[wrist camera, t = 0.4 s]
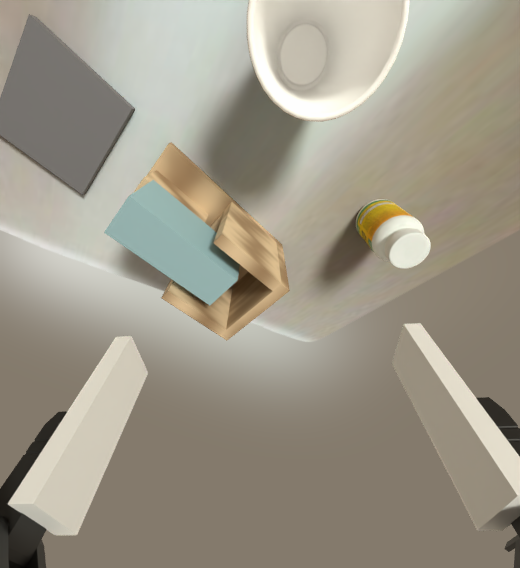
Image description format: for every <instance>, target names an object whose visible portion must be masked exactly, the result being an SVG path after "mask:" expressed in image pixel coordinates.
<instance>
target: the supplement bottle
mask: <svg viewBox="0 0 520 568" xmlns="http://www.w3.org/2000/svg"><path fill="white" fill-rule="evenodd" d="M356 229H357V231H358V233H359V234H360V235H361V237H362V238H363V239H364V240H365V242H366V243H367V244H368V245H369V247H370V248H371V249H372V251H373V252H374V253H375V254H376V256H377V257H379V258H380V259H382V260H384V261H388V262H390V263H391V264H392V265H394V266H395V267H398V268H410V267H413V266H416V265H417V264H419V263H420V262H422V261H423V260H424V259H425V258H426V256H427V255H428V253H429V251H430V241H429V239H428V237H427V236H426V235H425V234H424V229H423V226H422V224H421V223H420V222H419V221H418V220H417V219H416V218H414V217H413V216H411V215H410V214H408V213H407V212H406V211H404V210H403V209H401V208H400V207H399V206H397V205H396V204H394V203H393V202H391V201H389V200H386V199H378V200H374V201H371V202H369V203H367V204H366V205H365V206H364V207H363V208H362V209H361V210H360V211H359V213H358V215H357V218H356Z"/></svg>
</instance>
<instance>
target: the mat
mask: <svg viewBox="0 0 520 568" xmlns="http://www.w3.org/2000/svg"><path fill="white" fill-rule="evenodd" d="M134 110H135V108H134V107H133V106H131V105H130V104H129V103H128V102H127V101H126V100H125V99H124V98H123V97H122V96H121V95H120V94H119V93H117V92H116V91H115V90H114V89H113V88H112V87H111V86H110V85H109V84H108V83H107V82H106V81H104V80H103V79H102V78H101V77H100V76H99V75H98V74H97V73H96V72H95V71H94V70H93V69H92V68H90V67H89V66H88V65H87V64H86V63H85V62H84V61H83V60H82V59H81V58H80V57H79V56H77V55H76V54H75V53H74V52H73V51H72V50H71V49H70V48H69V47H68V46H67V45H66V44H64V43H63V42H62V41H61V40H60V39H59V38H58V37H57V36H56V35H55V34H54V33H53V32H52V31H50V30H49V29H48V28H47V27H46V26H45V25H44V24H43V23H42V22H41V21H40V20H39V19H37V18H36V17H35V16H32V15H30V14H29V17H28V19H27V22H26V25H25V28H24V31H23V34H22V37H21V40H20V43H19V46H18V48H17V51H16V54H15V57H14V60H13V63H12V66H11V69H10V72H9V74H8V77H7V80H6V83H5V86H4V89H3V92H2V95H1V98H0V135H1V136H2V137H3V138H5V139H6V140H7V141H9V142H10V143H12V144H13V145H14V146H16V147H17V148H18V149H20V150H21V151H23V152H24V153H25V154H27V155H28V156H30V157H31V158H32V159H34V160H35V161H36V162H38V163H39V164H41V165H42V166H43V167H45V168H46V169H47V170H49V171H50V172H52V173H53V174H54V175H56V176H57V177H58V178H60V179H61V180H63V181H64V182H65V183H67V184H68V185H70V186H71V187H72V188H74V189H75V190H76V191H78V192H79V193H81V194H82V195H83V194H85V193H86V192H87V190H88V188H89V187H90V185H91V183H92V182H93V180H94V178H95V176H96V175H97V173H98V171H99V170H100V168H101V166H102V164H103V163H104V161H105V159H106V158H107V156H108V154H109V153H110V151H111V149H112V147H113V146H114V144H115V142H116V141H117V139H118V137H119V136H120V134H121V132H122V130H123V129H124V127H125V125H126V124H127V122H128V120H129V119H130V117H131V115H132V113H133V112H134Z"/></svg>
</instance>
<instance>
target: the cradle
mask: <svg viewBox="0 0 520 568" xmlns="http://www.w3.org/2000/svg"><path fill="white" fill-rule="evenodd" d="M152 180H154V181H156V182H157V183H158V184H159V185H160V186H162V187H163V188H164V189H165V190H166V191H168V192H169V193H170V194H171V195H172V196H174V197H175V198H176V199H177V200H178V201H180V202H181V203H182V204H183V205H184V206H186V207H187V208H188V209H189V210H190V211H192V212H193V213H194V214H195V215H196V216H198V217H199V218H200V219H201V220H202V221H203V222H205V223H206V224H207V225H208V226H209V227H211V228H212V229H213V230H214V231H215V232H217V234H216V237H215V240H214V244H215V245H216V246H218V247H219V248H220V249H221V250H222V251H224V252H225V253H226V254H227V255H229V256H230V257H231V258H232V259H234V260H235V261H236V262H237V263H239V264H240V267H239V274H238V280H237V281H236V282H235V283H234V284H233V285H232V286H231V287H230V288H229V289H228V290H227V291H225V292H224V293H223V294H222V295H221V296H220V297H219V298H218V299H217V300H216V301H214V302H213V303H212V304H211V305H208V304H207V303H205V302H204V301H203V300H201V299H200V298H198V297H197V296H195V295H194V294H192V293H191V292H190V291H188V290H187V289H185V288H184V287H182V286H181V285H179V284H178V283H176V282H175V281H174V280H172V279H171V281H170V282H169V284H168V286H167V288H166V290H165V292H164V294H163V296H162V299H164V300H165V301H167V302H168V303H170V304H171V305H173V306H175V307H176V308H178V309H179V310H181V311H182V312H184V313H185V314H187V315H188V316H190V317H191V318H193V319H195V320H196V321H198V322H199V323H201V324H203V325H204V326H205V327H207V328H208V329H210V330H211V331H213V332H215V333H216V334H218V335H219V336H221V337H223V338H224V339H225V340H228V339H229V338H231V337H232V336H233V335H235V334H236V333H237V332H238V331H240V330H241V329H242V328H243V327H245V326H246V325H247V324H248V323H250V322H251V321H252V320H254V319H255V318H256V317H257V316H259V315H260V314H261V313H262V312H264V311H265V310H266V309H267V308H269V307H270V306H271V305H272V304H274V303H275V302H276V301H277V300H279V299H280V298H281V297H282V296H284V295H285V294H286V293H287V292H289V291H290V290H289V284H288V278H287V272H286V266H285V259H284V253H283V247H282V244H281V243H280V242H278V241H277V240H276V239H275V238H274V237H273V236H272V235H271V234H270V233H269V232H268V231H267V230H265V229H264V228H263V227H262V226H261V225H260V224H259V223H258V222H257V221H256V220H255V219H254V218H253V217H251V216H250V215H249V214H248V213H247V212H246V211H245V210H244V209H243V208H242V207H241V206H240V205H238V204H237V203H236V202H235V201H234V200H233V199H232V198H231V197H230V196H229V195H228V194H227V193H226V192H224V191H223V190H222V189H221V188H220V187H219V186H218V185H217V184H216V183H215V182H214V181H213V180H211V179H210V178H209V177H208V176H207V175H206V174H205V173H204V172H203V171H202V170H201V169H200V168H198V167H197V166H196V165H195V164H194V163H193V162H192V161H191V160H190V159H189V158H188V157H187V156H186V155H184V154H183V153H182V152H181V151H180V150H179V149H178V148H177V147H176V146H175V145H174V144H173V143H169V144H168V145H167V147H166V148H165V150H164V151H163V153H162V154H161V156H160V157H159V159H158V160H157V161H156V163H155V164H154V166H153V167H152V169H151V170H150V172H149V173H148V175H147V176H146V177H144V178H143V180H142V181H141V183H140V184H139V185H138V187H137V188H136V190H135V191H134V192H136V191H137V190H139V189H140V188H142V187H143V186H145V185H146V184H148V183H149V182H151V181H152Z"/></svg>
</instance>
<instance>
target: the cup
mask: <svg viewBox="0 0 520 568" xmlns="http://www.w3.org/2000/svg"><path fill="white" fill-rule="evenodd" d="M408 11H409V0H249V3H248V11H247V40H248V47H249V53H250V58H251V62H252V65H253V68H254V71H255V74H256V76H257V78H258V80H259V82H260V84H261V86H262V88H263V90H264V91H265V92H266V94H267V95H268V96H269V98H270V99H271V100H272V101H273V102H274V103H275V104H276V105H277V106H278V107H279V108H280V109H282V110H283V111H284V112H286V113H288V114H290V115H292V116H293V117H295V118H299V119H302V120H306V121H327V120H332V119H336V118H338V117H341V116H343V115H345V114H348V113H350V112H351V111H353V110H354V109H355V108H357V107H358V106H360V105H361V104H363V103H364V102H365V101H366V100H367V99H368V98H369V97H370V96H371V95H372V94H373V93H374V92H375V91H376V89H377V88H378V87H379V85H380V84H381V83H382V82H383V80H384V79H385V78H386V76H387V74H388V72H389V70H390V69H391V67H392V65H393V63H394V61H395V59H396V57H397V54H398V51H399V49H400V46H401V44H402V41H403V37H404V33H405V29H406V24H407V20H408Z"/></svg>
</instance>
